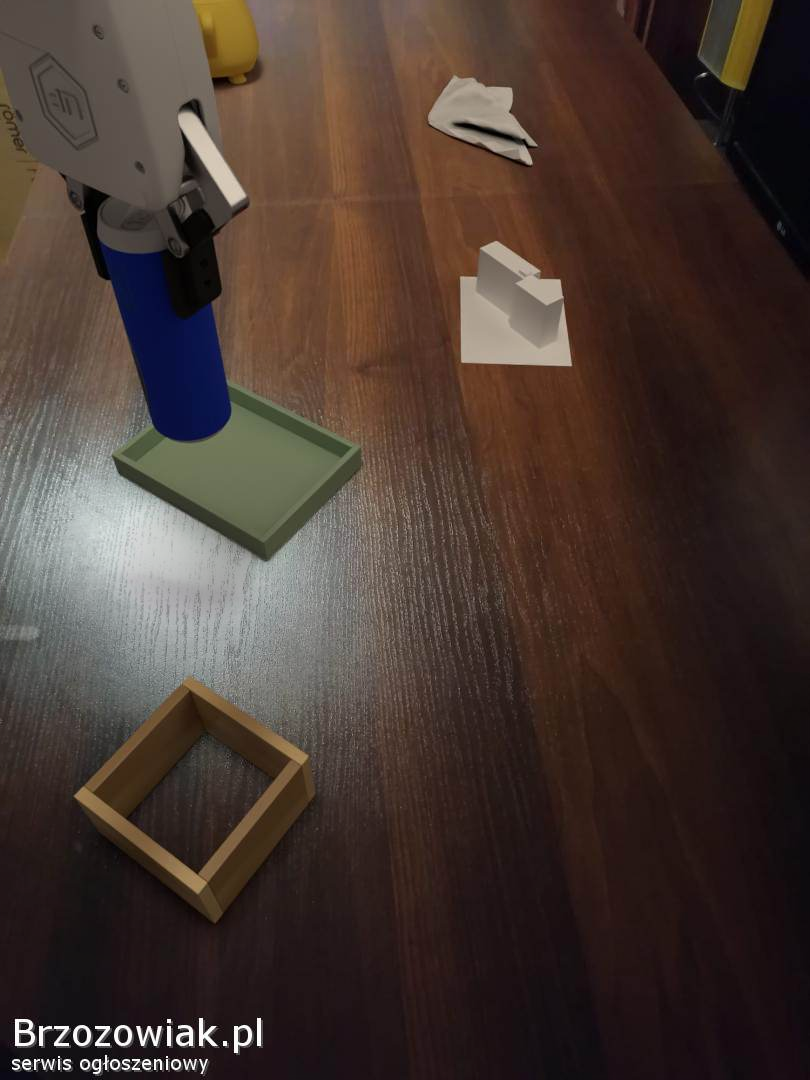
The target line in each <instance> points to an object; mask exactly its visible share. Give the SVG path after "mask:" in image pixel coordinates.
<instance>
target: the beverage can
mask: <svg viewBox="0 0 810 1080" xmlns="http://www.w3.org/2000/svg"><path fill="white" fill-rule="evenodd" d="M172 204H173V205H174V207H175V209H176V212H177V214H178V217H179V219H180V222H181V224H182V223H183V222H184V221H185V220H186V219H187V217H188V216H189V215H190V214H191V213H192V211H191V209H190V206H189V204H188V201H187V199H186V198H185V196H184V197H182V198H181V199H179V200H177V201H175V202H174V203H172ZM97 235H98V239H99V242H100V245H101V249H102V252H103V256H104V259H105V263H106V266H107V269H108V273H109V276H110V280H109V281H110V283H111V286H112V290H113V293H114V297H115V300H116V304H117V307H118V310H119V314H120V317H121V320H122V324H123V328H124V331H125V335H126V338H127V342H128V345H129V348H130V352H131V354H132V358H133V362H134V366H135V368H136V373H137V376H138V379H139V384H140V386H141V389H142V394H143V395H144V400H145V403H146V406H147V409H148V413H149V417H150V420H151V423H152V424H153V426H154V428H155V429H156V430H157V431H158V432H159V433H160V434H162V435H163V436H165V437H167V438H169V439H171V440H173V441H176V442H180V443H198V442H202V441H205V440H208V439H210V438H212V437H214V436H215V435H217V434H218V433H219V432H220V431H221V430H222V429H223V428H224V427H225V425H226V424H227V422H228V421H229V419H230V416H231V412H232V408H231V402H230V397H229V392H228V386H227V381H226V379H227V377H226V372H225V366H224V365H225V364H224V361H223V356H222V350H221V345H220V340H219V335H218V334H219V333H218V329H217V324H216V319H215V313H214V308H213V303H212V302H213V301H212V302H211V303H209V304H208V305H206V306H205V307H204V308H202V309H201V310H199V311H198V312H196V313H195V314H193V315H192V316H191V317H189V318H188V319H185V320H184V319H182V318H180V317H178V316H176V315H175V313H174V310H173V307H172V302H171V298H170V294H169V290H168V285H167V281H166V277H165V272H164V268H163V264H162V260H161V253H162V252H163V251H165V250H166V249H168V247H167V245H166V243H165V240H164V238H163V236H162V233H161V231H160V229H159V226H158V224H157V222H156V219H155V217H154V215H153V212H152V211H147V210H143V209H140V208H138V207H135V206H133V205H130V204H128V203H126V202H123V201H121V200H119V199H117V198H114V197H112V196H110V197H109V198H107V199H106V200H105V201H104V202H103V203H102V204H101V205H100V207H99V209H98V223H97Z"/></svg>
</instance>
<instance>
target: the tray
mask: <svg viewBox="0 0 810 1080" xmlns="http://www.w3.org/2000/svg"><path fill="white" fill-rule="evenodd" d="M226 381H227V386H228V392H229V397H230V402H231V408H232V412H231V416H230V419H229V421H228V422H227V424H226V425H225V427H224V428H223V429H222V430H221V431H220V432H219V433H218V434H217V435H215V436H214V437H212V438H210V439H208V440H205V441H202V442H198V443H180V442H176V441H173V440H171V439H169V438H167V437H165V436H163V435H162V434H160V433H159V432H158V431H157V430H156V429H155V428H154V426H153V424H152V422H151V423H149V424H148V425H147V426H146V427H144V428H142V430H140V431H139V432H138V433H137V434H135V435H134V436H132V438H130V439H129V440H128V441H126V442H125V443H124V444H123V445H121V446H120V447H118V449H116V450H115V451H114V452H113V453H112V454H111V457H112V460H113V463H114V466H115V469H116V472H117V474H118V475H119V476H121V477H122V478H123V479H125V480H127V481H129V482H130V483H133V484H135V485H136V486H138V487H140V488H141V489H143V490H144V491H146V492H148V493H150V494H151V495H153V496H155V497H157V498H158V499H160V500H162V501H163V502H165V503H167V504H169V505H170V506H172V507H173V508H175V509H177V510H179V511H180V512H182V513H184V514H186V515H187V516H188V517H191V518H192V519H194V520H196V521H198V522H199V523H201V524H202V525H204V526H206V527H208V528H210V529H211V530H213V531H214V532H216V533H218V534H220V535H222V537H225V538H227V539H228V540H230V541H231V542H233V543H235V544H237V545H238V546H240V547H242V548H243V549H245V550H246V551H249V552H251V553H252V554H254V555H255V556H257V557H258V558H260V559H262V560H264V561H266V562H268V561H270V559H271V558H273V557H274V556H275V554H276V553H277V552H278V551H280V550H281V548H282V547H283V546H284V545H285V544H287V542H289V540H291V538H292V537H293V536H294V535H295V534H296V533H297V532H298V531H299V530H300V529H301V528H302V527H303V526H304V525H305V524H306V523H307V522H308V521H310V519H311V518H312V517H313V516H314V515H315V514H316V513H317V512H318V511H319V510H320V509H321V508H322V507H323V506H324V505H325V504H326V503H327V502H328V501H329V500H330V499H331V498H332V497H333V496H334V495H335V494H336V493H337V492H338V491H339V490H340V489H341V488H342V486H344V484H345V483H346V482H348V480H350V478H352V477H353V476H354V474H355V473H356V472H358V471H359V469H361V468H362V467H363V463H362V446H361V445H359V444H356V443H355V442H353V441H351V440H349V439H347V438H345V437H343V436H341V435H339V434H337V433H335V432H333V431H330V430H329V429H328V428H325V427H323V426H321V425H318V424H317V423H315V422H313V421H311V420H309V419H307V418H306V417H303V416H301V415H299V414H297V413H295V412H293V411H291V410H289V409H287V408H285V407H283V406H282V405H279V404H277V403H275V402H273V401H271V400H269V399H268V398H265V397H263V396H261V395H259V394H257V393H255V392H253V391H251V390H250V389H248V388H245V387H244V386H241V385H239V384H237V383H235V382H233V381H231V380H229V379H227V378H226Z"/></svg>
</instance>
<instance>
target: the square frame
mask: <svg viewBox="0 0 810 1080" xmlns="http://www.w3.org/2000/svg"><path fill="white" fill-rule="evenodd" d="M205 732H206V733H208V734H209V735H210V736H212V737H213V738H215V739H216V740H217V741H219V742H221V743H222V744H223V745H225V746H226V747H228V748H229V749H230V750H231V751H234V753H236V754H238V755H239V756H241V757H242V758H243V759H245V760H246V761H248V762H249V763H251V764H252V765H253V766H255V767H256V768H258V769H259V770H260V771H262V772H264V773H265V774H267V775H268V776H269V777H271V778H272V779H273V781H272V782H271V784H270V785H269V786H268V787H267V789H266V790H265V791H264V792H263V793H262V795H261V796H260V797H259V798H258V799H257V801H256V802H255V803H254V804H253V806H252V807H250V810H249V811H248V812H247V813H246V814H245V816H244V817H243V818H242V819H241V820H240V821H239V823H238V824H237V825H236V827H235V828H234V829H233V830H232V831H231V833H230V834H229V835H228V836H227V837H226V839H225V840H224V841H223V842H222V843H221V845H220V846H219V847H218V848H217V850H216V851H215V852H214V853H213V855H212V856H211V857H210V858H209V860H208V861H207V862H206V863H205V865H203V867H202V868H201V869H200V871H199V872H198V873H196V872H195V871H193V869H191V868H190V867H188V866H187V865H186V864H185V863H183V862H182V861H181V860H180V859H178V858H177V857H175V856H174V855H173V854H172V853H170V852H169V851H167V850H166V849H165V848H164V847H162V846H161V845H160V844H159V843H158V842H156V841H155V840H153V839H152V838H151V836H148V835H147V834H146V833H144V832H143V830H140V828H138V827H137V826H136V825H134V824H133V823H132V822H130V821H129V820H128V819H127V818H128V817H129V816H130V815H131V814H132V813H133V812H134V811H135V809H136V808H137V807H138V806H140V804H141V803H142V802H143V800H145V799H146V797H147V796H148V795H149V794H150V793H151V792H152V791H153V790H154V788H155V787H156V786H157V785H158V784H159V783H160V782H161V780H162V779H164V777H165V776H167V774H168V773H169V772H170V771H171V769H173V768H174V766H176V764H177V763H178V762H179V761H180V760H181V759H182V757H184V755H185V754H186V753H187V752H188V751H189V750H190V749H191V748H192V746H193V745H194V744H195V743H196V742H197V741H198V740H199V739H200V738H201V736H202V735H203V734H205ZM312 771H313V770H312V765H311V759H310V756H309V754H307V753H306V752H304V751H303V750H302V749H300V748H298V747H297V746H295V745H293V743H291V742H289V741H288V740H286V739H285V738H284V737H282V736H280V734H277V733H276V732H274V731H272V730H271V728H269V727H267V726H266V725H264V724H262V723H261V722H260V721H259V720H256V719H255V718H254V717H252V716H250V715H249V714H248V713H246V712H244V711H243V710H242V709H240V708H238V707H237V706H236V705H234V704H233V703H231V702H230V701H228V700H227V699H225V698H224V697H223V696H221V695H219V694H218V693H216V692H215V691H214V690H212V689H210V688H209V687H208V686H206V685H205V684H203V683H201V682H200V681H199V680H197V679H195V677H193V676H191V675H189V676H187V677H186V679H185V680H184V681H183V682H182V683H181V684H180V685H178V687H177V688H176V689H175V690H174V691H173V692H172V693H171V694H170V695H169V696H168V698H166V699H165V700H164V702H163V703H161V704H160V705H159V707H158V708H157V709H156V710H155V711H154V712H152V714H151V715H150V716H149V717H148V718H147V719H146V720H145V721H144V722H143V724H141V725H140V727H138V728H137V730H136V731H134V733H133V734H132V735H131V736H130V737H129V738H128V739H127V740H126V741H125V742H124V743H123V744H122V745H121V746H120V747H119V749H118V750H116V752H114V754H113V755H112V756H111V757H110V758H108V760H106V762H105V763H104V764H103V765H102V766H101V767H100V768H99V769H98V770H97V771H96V773H94V774H93V776H91V777H90V778H89V780H88V781H87V782H86V783H84V785H82V787H81V788H80V789H79V790H78V791H77V792H76V793H75V794H74V795H73V797H74V799H75V800H76V802H77V803H78V805H79V806H80V807H81V809H82V810H83V812H84V813H85V814H86V815H87V817H88V818H89V820H90V821H91V822H92V824H93V825H94V826H95V828H96V829H97V831H98V833H100V834H101V835H102V836H103V837H105V838H106V839H107V840H109V841H110V842H111V843H112V844H113V845H115V846H116V847H117V848H118V849H120V850H121V851H123V852H124V853H125V854H126V855H127V856H129V857H130V858H131V859H132V860H134V861H135V862H136V863H137V864H139V865H140V866H141V867H142V868H144V869H145V870H146V871H148V872H149V874H152V875H153V876H154V877H155V878H156V879H157V880H158V881H160V882H161V883H163V884H164V885H165V886H166V887H167V888H169V889H170V890H171V891H173V892H174V893H175V894H176V895H177V896H179V897H180V898H181V899H183V900H184V901H185V902H186V903H188V904H189V905H190V906H192V908H194V909H195V910H197V911H198V912H199V913H200V914H201V915H203V916H204V917H205V918H207V920H209V921H210V922H212V923H213V924H214V925H215V924H216V923H217V922H218V921H219V920H220V918H221V917H222V916H223V914H224V913H225V912H226V911H227V909H228V908H229V907H230V905H232V903H233V902H234V900H235V899H236V898H237V897H238V895H239V894H240V893H241V891H242V890H243V889H244V887H246V885H247V883H248V882H249V881H250V880H251V878H252V877H253V876H254V874H255V873H256V872H257V871H258V870H259V868H260V867H261V865H262V864H263V863H264V862H265V860H266V859H267V858H268V856H269V855H270V854H271V853H272V851H273V850H274V849H275V847H276V846H277V845H278V844H279V843H280V841H281V840H282V838H283V837H284V836H285V835H286V833H287V832H288V831H289V830H290V828H291V827H292V825H293V824H294V823H295V821H296V820H298V817H299V816H300V815H301V814H302V812H303V811H304V810H305V809H306V808H307V806H308V805H309V803H310V802H311V801H312V800H313V798H314V797H315V796H316V788H315V782H314V777H313V772H312Z"/></svg>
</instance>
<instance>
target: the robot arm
mask: <svg viewBox="0 0 810 1080" xmlns="http://www.w3.org/2000/svg"><path fill="white" fill-rule="evenodd" d="M0 70H1V74H2V78H3V81H4V84H5V89H6V92H7V95H8V98H9V101H10V105H11V108H12V111H13V115H14V119H15V122H16V124H17V127H18V130H19V133H20V136H21V139H22V141H23V145H24V146H25V149H26V150H27V151H28V152H29V153H30V155H31V156H32V157H33V158H34V159H36V160H37V161H38V162H39V163H41V164H43V166H46V167H47V168H50V169H52V170H53V171H55V172H58V174H59V175H60V177H61V178H62V179H63V181H64V182H65V183H66V185H65V186H66V194H67V198H68V201H69V202H70V204H71V205H72V206H73V207H72V208H74V209H75V210H76V211H79V212H83V213H82V214H80V220H81V223H82V227H83V230H84V232H85V236H86V240H87V243H88V246H89V249H90V252H91V256H92V259H93V262H94V265H95V269H96V272H97V276H98V277H99V278H101V279H103V280H105V281H111V280H110V276H109V273H108V269H107V266H106V263H105V259H104V256H103V252H102V249H101V245H100V242H99V239H98V235H97V223H98V209H99V207H100V205H101V204H102V203H103V202H104V201H105V200H106V199H107V198H109V197H110V196H112V197H114V198H117V199H119V200H121V201H123V202H126V203H128V204H130V205H133V206H135V207H138V208H140V209H143V210H147V211H152V212H153V215H154V217H155V219H156V222H157V224H158V226H159V229H160V231H161V233H162V236H163V238H164V240H165V243H166V245H167V247H168V249H166V250H165V251H163V252H162V253H161V260H162V264H163V268H164V272H165V277H166V281H167V285H168V290H169V294H170V298H171V302H172V307H173V310H174V313H175V315H176V316H178V317H180V318H182V319H184V320H185V319H188V318H189V317H191V316H192V315H193V314H195V313H196V312H198V311H199V310H201V309H202V308H204V307H205V306H206V305H208V304H209V303H211V302H214V301H215V300H216V299H218V298H219V297H220V296H221V295H222V292H223V286H222V285H223V284H222V279H221V275H220V267H219V263H218V257H217V252H216V247H215V240H214V238H215V237H216V236H217V235H219V234H220V233H221V231H222V229H223V228H224V227H225V226H226V225H227V224H228V223H229V222H230V221H231V220H233V219H234V218H236V217H237V216H239V214H241V213H243V212H245V210H247V209H248V208H249V207H250V205H251V202H250V197H249V196H248V193H247V191H246V190H245V189H244V187H243V186H242V184H241V182H240V180H238V178H237V176H236V174H235V173H234V171H233V169H232V168H231V166H230V165H229V163H228V162H227V160H226V158H225V157H224V146H223V137H222V129H221V123H220V121H221V120H220V117H219V111H218V105H217V99H216V92H215V89H214V84H213V83H214V82H213V79H212V78H211V73H210V68H209V64H208V59H207V55H206V51H205V47H204V43H203V38H202V34H201V31H200V27H199V23H198V19H197V15H196V12H195V8H194V4H193V1H192V0H0ZM182 197H184V198H185V200H186V202H187V204H188V206H189V207H190V209H191V211H192V213H191V214H190V215H189V216H188V217H187V219H186V220H185V221H184V222H183V223H182V224H181V222H180V219H179V217H178V214H177V212H176V209H175V207H174V205H173V204H172V203H174V202H175V201H177V200H179V199H181V198H182Z"/></svg>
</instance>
